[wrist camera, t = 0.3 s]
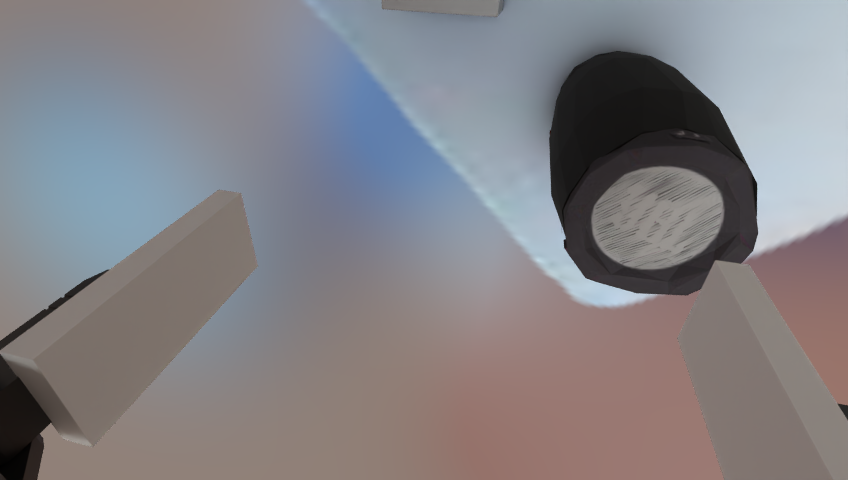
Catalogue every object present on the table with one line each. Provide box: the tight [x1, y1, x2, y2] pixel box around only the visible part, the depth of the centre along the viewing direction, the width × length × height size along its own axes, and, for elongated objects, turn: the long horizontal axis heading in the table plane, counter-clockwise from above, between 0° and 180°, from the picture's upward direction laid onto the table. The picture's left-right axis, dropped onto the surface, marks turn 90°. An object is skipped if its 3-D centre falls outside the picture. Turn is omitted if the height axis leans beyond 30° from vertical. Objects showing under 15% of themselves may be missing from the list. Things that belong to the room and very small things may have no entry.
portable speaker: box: [549, 51, 758, 295], centre depth 27 cm, size 9×9×20 cm
